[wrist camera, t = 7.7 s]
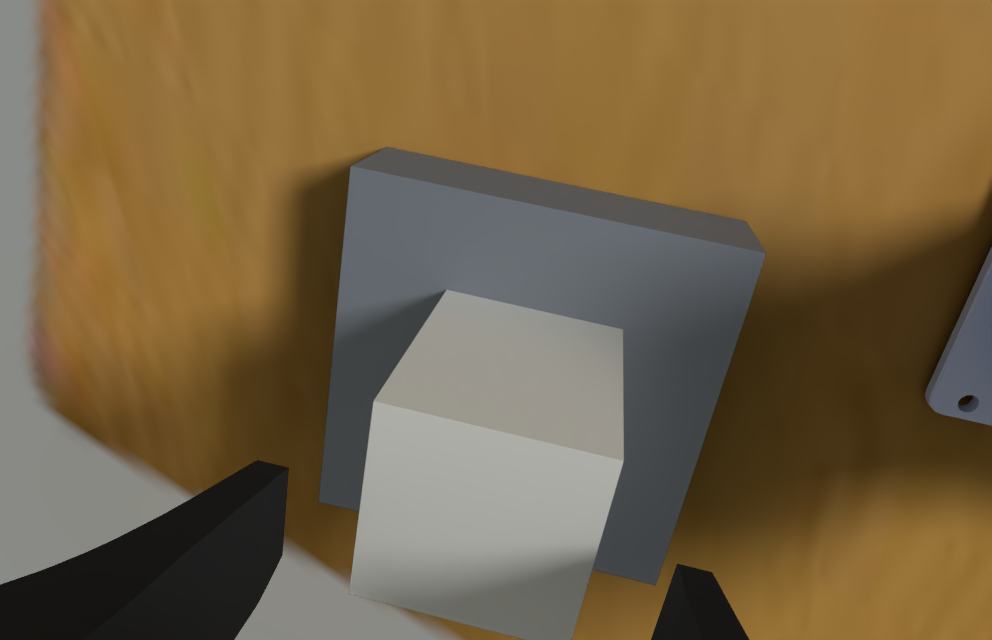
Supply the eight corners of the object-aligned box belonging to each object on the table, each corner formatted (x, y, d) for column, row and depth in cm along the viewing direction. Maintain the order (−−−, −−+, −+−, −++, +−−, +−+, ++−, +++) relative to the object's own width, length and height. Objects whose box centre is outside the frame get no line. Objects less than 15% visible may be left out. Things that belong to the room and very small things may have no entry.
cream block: (623, 329, 18) (623, 460, 13) (582, 478, 20) (568, 651, 15) (446, 289, 19) (373, 401, 13) (422, 440, 20) (348, 593, 15)
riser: (746, 221, 20) (765, 253, 17) (651, 520, 24) (655, 585, 21) (386, 146, 21) (350, 165, 18) (352, 448, 24) (318, 501, 22)
